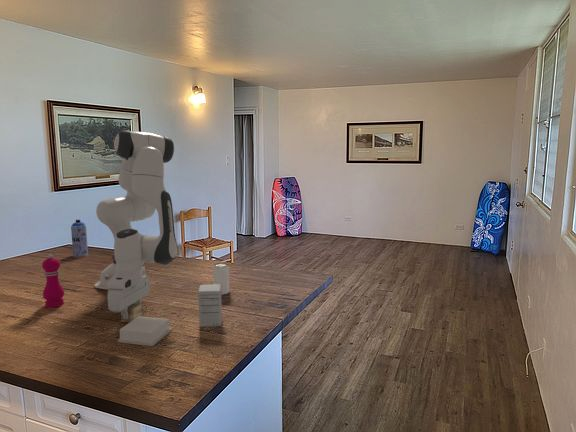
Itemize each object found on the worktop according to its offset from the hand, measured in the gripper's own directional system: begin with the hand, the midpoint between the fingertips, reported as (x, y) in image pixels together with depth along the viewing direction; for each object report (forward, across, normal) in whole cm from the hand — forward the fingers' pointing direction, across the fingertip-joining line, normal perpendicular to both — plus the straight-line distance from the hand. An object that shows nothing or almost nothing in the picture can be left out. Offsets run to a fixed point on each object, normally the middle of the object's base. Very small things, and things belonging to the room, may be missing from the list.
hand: (131, 314), depth 153 cm
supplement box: (+2, -4, +28) cm, 28 cm away
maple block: (+2, 0, 0) cm, 2 cm away
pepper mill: (+2, -6, -37) cm, 38 cm away
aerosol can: (+2, -75, -80) cm, 110 cm away
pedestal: (+2, +11, +12) cm, 16 cm away
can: (+2, -34, +20) cm, 39 cm away
